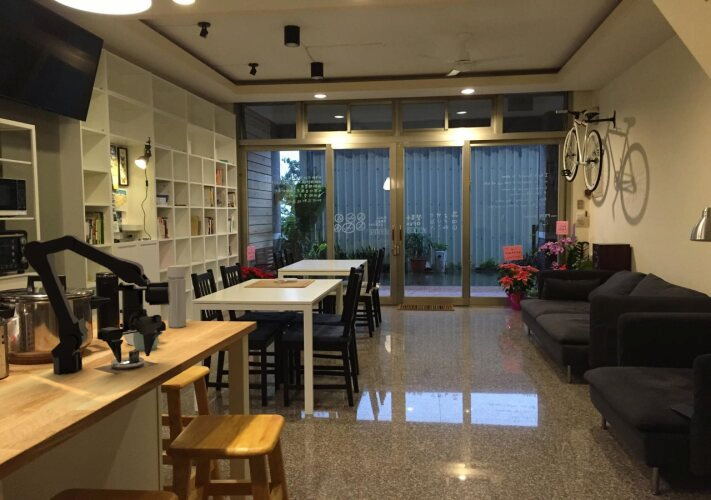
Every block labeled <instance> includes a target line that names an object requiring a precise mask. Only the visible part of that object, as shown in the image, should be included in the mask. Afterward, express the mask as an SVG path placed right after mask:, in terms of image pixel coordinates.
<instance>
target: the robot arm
mask: <svg viewBox="0 0 711 500" xmlns="http://www.w3.org/2000/svg"><path fill="white" fill-rule="evenodd" d="M67 250H68V251H70V252H73V253H75V254H77V255H79V256H80V257H83V258H85V259H87V260H90V261H91V262H94V263H96V264H97V265H99V266H102V267H103V268H105V269H107V270H109V271H110V272H111V274H112V275H115V276H116V277H117V278H119V279H120V280H122V281H120V282H119V283H118V285H117V286H116V287H115V288H114V289H113V290H114V292H121V309H119V314H121V315H122V319H121V320H122V322H121V323H119V327H114V326H113V327H112V326H110V327H105V328H104V327H103V328H100V329H99V330H98V332H97V339H98V340H101V341H102V342H105V343H106V344H107V346H108V347H109V348H110V350H111V352H112V354H113V356H114V357H115V359H116V360H117V362H118V363H121V359H122V358H123V357H122V344H123V342H124V339H122V337H124V335H126V334H131V333H136V332H139V333H140V334H141V335H143V340H144V348H145V351H144V353H145V356H146V357H150V355H151V352H152V350H151V349H152V346H153V344H154V341H155V339H156V337H158V338H159V336H161V335H160V334H162V332H161V331H163V332H165V331H167V324H166V323H165V321H164V320H163V319H162V316H161V315H160V314H154V315H150V316H149V315H148V312H147V309H146V308H144V301H145V303H147V304H148V305H149V306H168V305H170V299H171V292H170V288H169V282H168V281H167V280H166V281H162V282H161V281H160V282H159V281H158V282H157V281H156V282H155V281H154V282H152V281H151V280H150V278H149V277H148V276H147V275H146V274H145V269H144V267H143V265H142V264H141V263H139V262H137V261H133V260H131V259H127V258H123V257H120V256H119V257H118V256H116V255H113V254H112V253H110V252H107V251H105V250H104V249H102V248H99V247H97V246H95V245H93V244H91V243H90V242H87V241H85V240H83V239H81V238H79V237H78V236H77V235H75V234H66V235H64V236H61V237H59V238H58V237H57V238H54V239H51V240H41V239H40V240H33V241H29V242H27V243H26V244H24V247H23V249H22V255H23V256H24V258H25V260H26V261H27V263H28V265H29V266H30V267H31V268H32V270H33V271H34V272H36V274H37V275H38V278H39V280H40V282H41V284H42V287H43V288H44V292H45V294H46V297H47V299H48V301H49V304H50V307H51V309H52V311H53V313H54V316H55V319H56V320H57V334H58V340H59V342H58V343H57V345H55V347H53V348H52V349H51V350H50V353H51V355H52V363H53V364H52V365H53V366H52V367H53V368H52V369H53V374H54V375H59V376H61V375H71V374H75V373H78V372H79V371H81V370H83V357H82V356H81V354H82V353H81V352H79V351H80V350H81V347H82V346H83V345H84V344H85V343H86V342H87V341H88V338H89V337H88V336H89V334H88V332H90V330H89V329H88V327H87V325H86V320H85V319H84V318H80V319H78V317H76V315H75V314H74V312H73V310H72V306H71V305H70V302H69V300H68V298H67V295H66V292H65V290H64V287H63V285H62V282H61V280H60V278H59V275H58V273H57V269H56V257H55V254H57V253H60V252H64V251H67ZM123 282H124V283H123ZM126 283H127V284H126ZM137 286H138V287H137ZM128 330H130V331H128ZM162 335H163V334H162Z"/></svg>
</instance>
